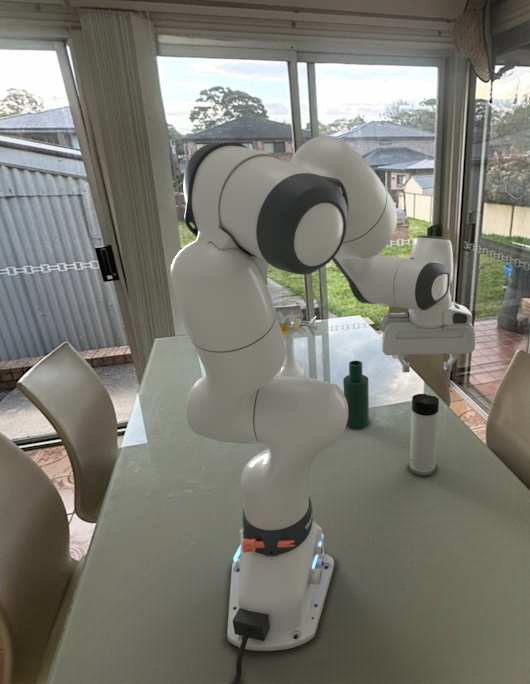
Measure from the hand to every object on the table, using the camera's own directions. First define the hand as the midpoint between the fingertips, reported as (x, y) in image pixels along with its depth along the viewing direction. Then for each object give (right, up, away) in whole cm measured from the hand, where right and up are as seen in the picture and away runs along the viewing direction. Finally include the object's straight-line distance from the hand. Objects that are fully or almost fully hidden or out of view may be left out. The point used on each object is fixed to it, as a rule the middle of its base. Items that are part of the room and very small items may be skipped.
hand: (426, 370), depth 99 cm
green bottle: (-16, -17, +30) cm, 38 cm away
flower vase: (-39, -7, +55) cm, 68 cm away
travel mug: (0, -25, +10) cm, 27 cm away
